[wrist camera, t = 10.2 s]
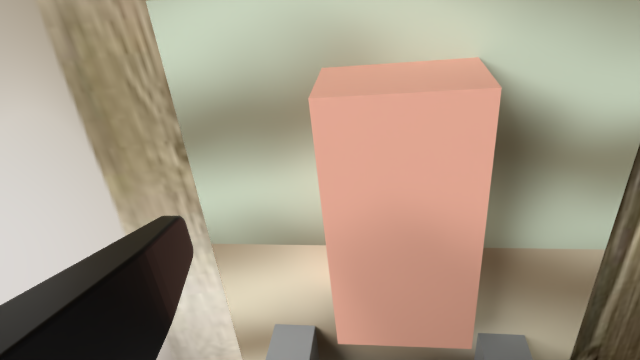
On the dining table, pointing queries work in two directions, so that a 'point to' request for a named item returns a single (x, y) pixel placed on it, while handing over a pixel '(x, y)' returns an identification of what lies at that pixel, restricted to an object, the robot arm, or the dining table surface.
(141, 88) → the dining table surface
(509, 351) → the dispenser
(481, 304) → the board
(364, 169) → the pink eraser
